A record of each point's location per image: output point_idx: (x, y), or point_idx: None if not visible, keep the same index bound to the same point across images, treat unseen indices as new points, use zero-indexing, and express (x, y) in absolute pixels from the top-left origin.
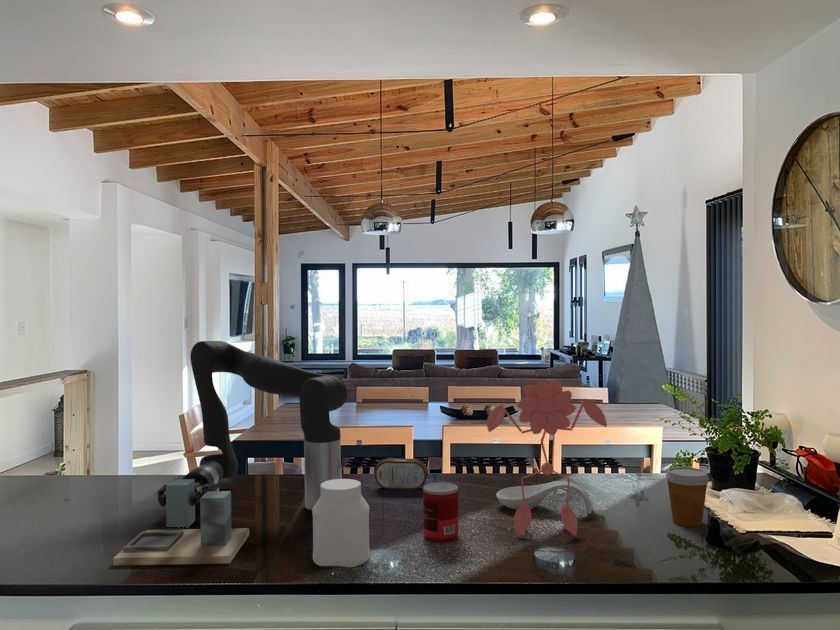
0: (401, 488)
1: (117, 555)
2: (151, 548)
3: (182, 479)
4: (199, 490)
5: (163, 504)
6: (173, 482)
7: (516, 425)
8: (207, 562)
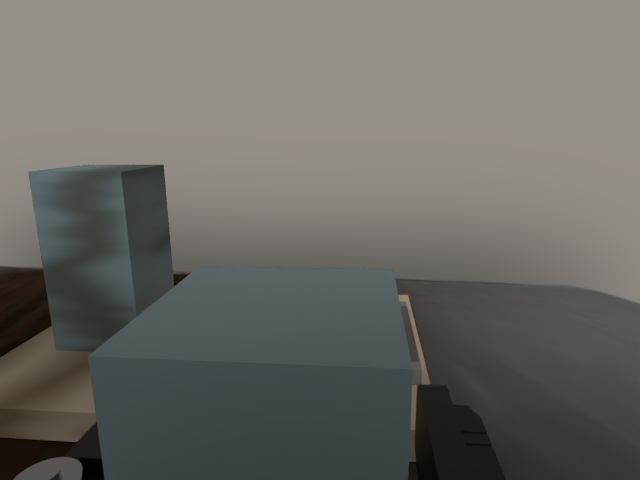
0: None
1: (405, 301)
2: None
3: (270, 359)
4: (54, 474)
5: (415, 434)
6: (354, 301)
7: None
8: None
